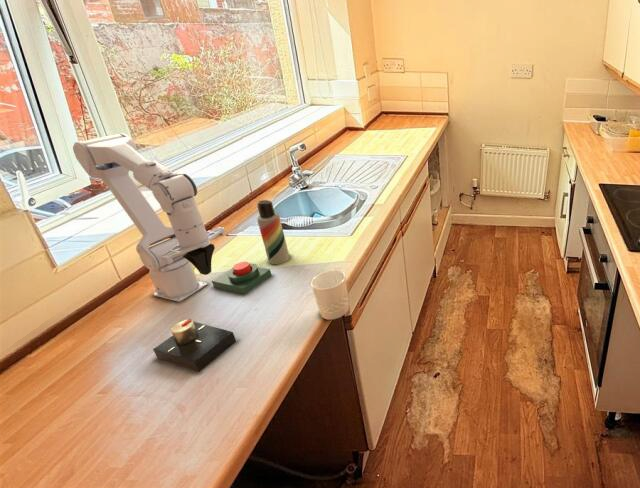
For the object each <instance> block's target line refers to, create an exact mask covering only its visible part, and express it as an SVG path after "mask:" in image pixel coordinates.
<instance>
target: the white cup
mask: <svg viewBox="0 0 640 488" xmlns="http://www.w3.org/2000/svg"><path fill="white" fill-rule="evenodd" d="M310 285H311V288H312V292H313V296H314V298H315V302H316V305H317V308H318V310H319V313H320V316H321V318H322V319H325V320H327V321H329V320H331V321H333V320H336V319H340V318H342V317H344V316H345V315H347V313H348V312H349V308H350V303H349V292H348V285H347V277H346V273H345V272H343V271H342V270H338V269H332V270H331V269H329V270H326V271H323V272H320V273H318V274H317V275H315V276H314V277H313V278H312V280H311V281H310Z"/></svg>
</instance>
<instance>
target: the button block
mask: <svg viewBox="0 0 640 488" xmlns="http://www.w3.org/2000/svg"><path fill="white" fill-rule="evenodd" d="M249 263H250V262H249ZM250 267H251V271H250V272H248V273H246V274H243V275H235V274H234V271H233V267H231V268H230V269H228V270H227V271H225V272H223V273H222V274H220V275H218V276H217V277H216V278H214V279H212V280H211V284H212V286H213V288H216V289H220V290H224V291H229V292H232V293H236V294H240V295H247V294H248V293H250V292H251V291H252V290H254V289H256V288H257V287H258V286H260V285H261V284H263V282H265V281H266V280H268V279H269V278H271V277H272V271H271V269H268V268H264V267H259V266H258V265H257V264H255V263H250Z"/></svg>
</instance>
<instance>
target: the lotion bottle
mask: <svg viewBox="0 0 640 488" xmlns="http://www.w3.org/2000/svg"><path fill="white" fill-rule="evenodd" d="M256 206H257V210H258V214H259V216H257V218H256V220H257V225H258V228H259V232H260V236H261V239H262V243H263V245H264V251H265V253H266V256H267V260H268V262H269V264H271V265H279V264H282V263H285V262H286V261H288V260H289V259H290V254H289V253H290V252H289V249H288V244H287V241H286V238H285V234H284V230H283V229H284V228H283V226H282V221H281V217H280V214H279V213H278V212H275V209H274V205H273V202H272V200H265V199H264V200H259V201H258V202H257V203H256Z"/></svg>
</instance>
